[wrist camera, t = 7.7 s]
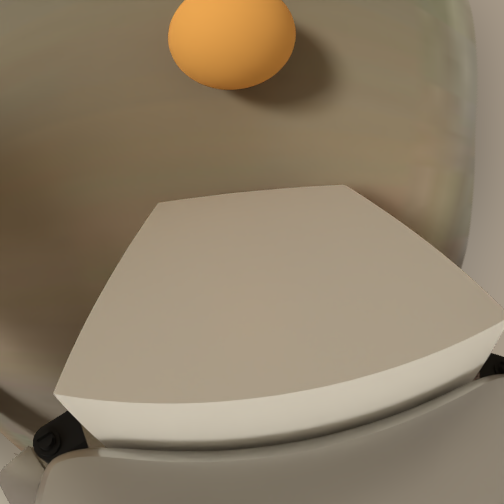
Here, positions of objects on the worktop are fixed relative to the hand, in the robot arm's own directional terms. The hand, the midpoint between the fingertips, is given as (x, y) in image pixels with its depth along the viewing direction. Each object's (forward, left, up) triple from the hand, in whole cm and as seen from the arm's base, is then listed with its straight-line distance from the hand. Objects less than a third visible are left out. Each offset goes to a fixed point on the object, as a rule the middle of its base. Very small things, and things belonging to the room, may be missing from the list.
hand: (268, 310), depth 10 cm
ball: (+8, +6, -3) cm, 11 cm away
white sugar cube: (0, 0, -3) cm, 3 cm away
